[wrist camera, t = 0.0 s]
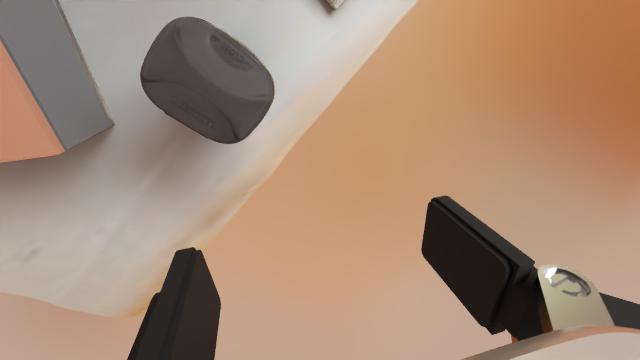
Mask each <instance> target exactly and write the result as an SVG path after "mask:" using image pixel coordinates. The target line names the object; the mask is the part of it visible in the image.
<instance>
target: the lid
mask: <svg viewBox="0 0 640 360" xmlns="http://www.w3.org/2000/svg"><path fill="white" fill-rule="evenodd" d="M63 152H65V150H64V148H63V147H62V145H61V143H60V142H59V140H58V138H57V136H56V135H55V133H54V131H53V130H52V128H51V126H50V124H49V123H48V121H47V119H46V118H45V116H44V114H43V112H42V111H41V109H40V107H39V106H38V104H37V102H36V100H35V99H34V97H33V95H32V93H31V92H30V90H29V88H28V87H27V85H26V83H25V81H24V80H23V78H22V76H21V75H20V73H19V71H18V69H17V68H16V66H15V64H14V63H13V61H12V59H11V57H10V56H9V54H8V52H7V51H6V49H5V47H4V45H3V44H2V42H1V40H0V163H3V162H10V161H17V160H25V159H32V158H39V157H47V156H54V155H59V154H61V153H63Z"/></svg>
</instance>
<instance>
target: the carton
mask: <svg viewBox="0 0 640 360" xmlns="http://www.w3.org/2000/svg"><path fill="white" fill-rule="evenodd" d="M0 40H1V42H2V44H3V45H4V47H5V49H6V51H7V52H8V54H9V56H10V57H11V59H12V61H13V63H14V64H15V66H16V68H17V69H18V71H19V73H20V75H21V76H22V78H23V80H24V81H25V83H26V85H27V87H28V88H29V90H30V92H31V93H32V95H33V97H34V99H35V100H36V102H37V104H38V106H39V107H40V109H41V111H42V112H43V114H44V116H45V118H46V119H47V121H48V123H49V124H50V126H51V128H52V130H53V131H54V133H55V135H56V136H57V138H58V140H59V142H60V143H61V145H62V147H63V148H64V150H68V149H70V148H72V147H74V146H76V145H78V144H79V143H81V142H83V141H85V140H87V139H89V138H90V137H92V136H94V135H96V134H98V133H100V132H101V131H103V130H105V129H107V128H109V127H111V126H112V125H114V124H115V123H114V121H113V119H112V117H111V115H110V113H109V110H108V108H107V106H106V104H105V102H104V99H103V97H102V95H101V93H100V91H99V89H98V86H97V84H96V82H95V80H94V78H93V76H92V73H91V71H90V69H89V67H88V65H87V63H86V60H85V58H84V56H83V54H82V52H81V49H80V47H79V45H78V43H77V41H76V39H75V36H74V34H73V32H72V30H71V28H70V26H69V23H68V21H67V19H66V17H65V15H64V13H63V10H62V8H61V6H60V4H59V2H58V0H0Z"/></svg>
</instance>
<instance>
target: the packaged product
mask: <svg viewBox="0 0 640 360" xmlns="http://www.w3.org/2000/svg"><path fill="white" fill-rule="evenodd" d="M327 1H328V3H329V4H330V5H331V6H332V7H333V8H334V9H337V8H338V7H339V6H340V5H341V4H342V3H343V2H344V1H345V0H327Z"/></svg>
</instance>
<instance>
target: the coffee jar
mask: <svg viewBox="0 0 640 360" xmlns="http://www.w3.org/2000/svg"><path fill="white" fill-rule="evenodd" d="M140 77H141V83H142V86H143V89H144V91H145V93H146V94H147V96H148V97H149V99H150V100H151V101H152V102H153V103H154V104H155V105H156V106H157V107H158V108H160V109H161V110H163V111H164V112H165V114H167V115H169V116H171V117H172V118H174V119H176V120H177V121H179V122H181V123H182V124H184V125H186V126H187V127H189V128H191V129H192V130H194V131H196V132H198V133H199V134H201V135H202V136H204V137H206V138H209V139H211V140H213V141H216V142H219V143H224V144H233V143H237V142H240V141H242V140H243V139H245V138H246V137H247V136H249V135H250V133H251V132H252V131H253V130H254V129H255V128H256V127H257V126H258V124H259V123H260V122H261V121H262V119H263V118H264V116H265V115H266V113H267V112H268V110H269V108H270V106H271V104H272V102H273V99H274V95H275V86H274V81H273V78H272V76H271V74H270V72H269V71H268V69H267V68H266V67H265V66H264V65H263V64H262V62H261V61H260V60H259V59H258V58H257V57H256V56H255V54H254V53H252V52H251V51H250V50H249V49H248V48H247V47H246V46H244V45H243V44H242V43H241V42H239V41H237V40H236V39H234V38H233V37H231V36H230V35H228V34H227V33H225V32H224V31H222V30H221V29H219V28H218V27H216V26H214V25H212V24H211V23H209V22H207V21H204V20H202V19H199V18H194V17H182V18H178V19H175V20H173V21H171V22H170V23H168V24H167V25H166V26H165V27H164V28H163V29H162V31H161V32H160V33H159V35H158V36H157V37H156V39H155V40H154V42H153V44H152V45H151V47H150V49H149V51H148V53H147V55H146V57H145V59H144V62H143V65H142V67H141V72H140Z"/></svg>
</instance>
